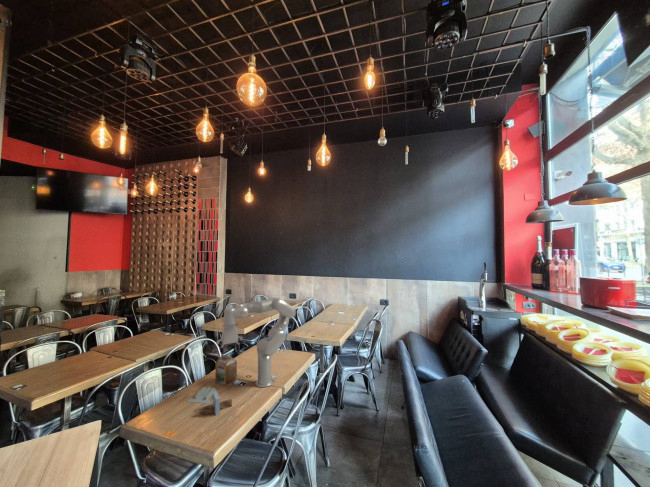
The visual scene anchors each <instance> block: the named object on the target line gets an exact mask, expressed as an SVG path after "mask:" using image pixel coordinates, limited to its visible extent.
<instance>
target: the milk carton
mask: <svg viewBox="0 0 650 487" xmlns="http://www.w3.org/2000/svg"><path fill="white" fill-rule="evenodd" d="M237 369H238V361H237V360H236V359H234V358H233V357H232V356H230V355H227V354H224V353H223V354H222V353H221V354H220V357H219V358H218V359H217V360H216V362H215V372H214V374H215V377H214V378H215V382H214V383H215V384H217V385H218V384H219V385H221V386H224V387H227V386H228V385H230V384H232V383H234V382H235V381H237V380H238V379H237V378H238V377H237V376H238V374H237V372H238V370H237Z"/></svg>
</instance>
